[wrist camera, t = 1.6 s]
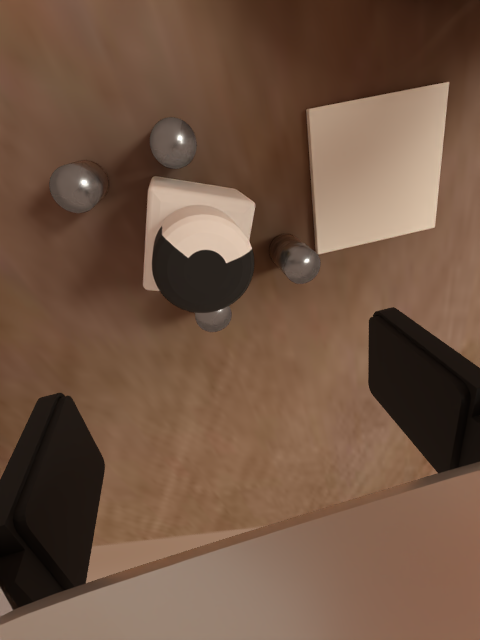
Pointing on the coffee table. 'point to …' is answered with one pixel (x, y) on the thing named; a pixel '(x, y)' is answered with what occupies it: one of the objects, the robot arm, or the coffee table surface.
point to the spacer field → (174, 152)
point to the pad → (376, 166)
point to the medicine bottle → (197, 244)
